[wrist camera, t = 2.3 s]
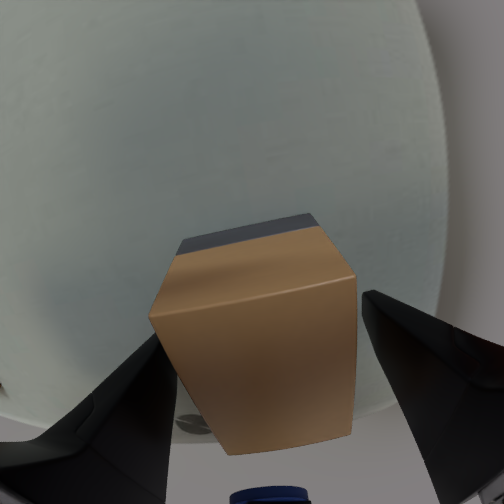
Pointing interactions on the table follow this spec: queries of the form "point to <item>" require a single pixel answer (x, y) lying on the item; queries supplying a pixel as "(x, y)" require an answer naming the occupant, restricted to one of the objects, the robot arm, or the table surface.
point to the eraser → (263, 333)
